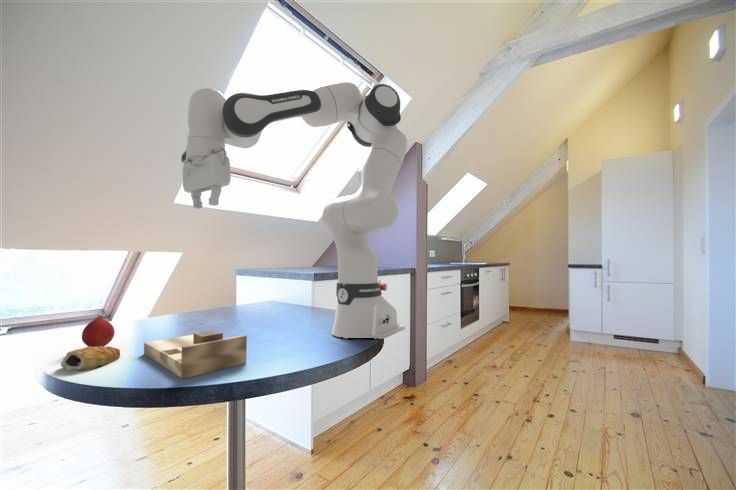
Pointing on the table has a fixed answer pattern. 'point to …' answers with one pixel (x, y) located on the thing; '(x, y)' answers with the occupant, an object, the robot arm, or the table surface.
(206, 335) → the walnut block
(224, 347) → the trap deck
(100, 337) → the onion
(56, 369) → the table surface
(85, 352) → the pastry
